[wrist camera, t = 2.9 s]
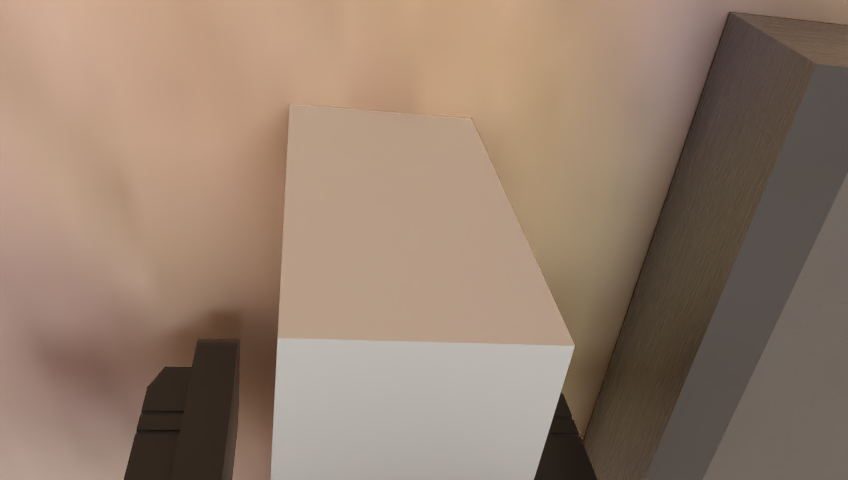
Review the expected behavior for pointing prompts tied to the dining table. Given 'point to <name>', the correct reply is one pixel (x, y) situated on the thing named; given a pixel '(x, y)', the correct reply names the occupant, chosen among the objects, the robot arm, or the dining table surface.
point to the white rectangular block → (407, 307)
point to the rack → (743, 278)
